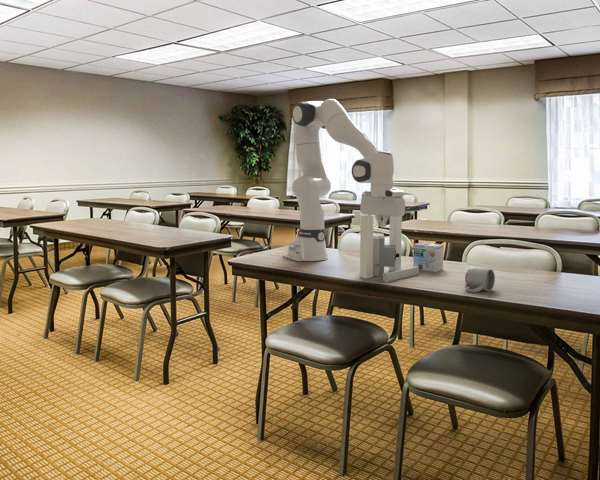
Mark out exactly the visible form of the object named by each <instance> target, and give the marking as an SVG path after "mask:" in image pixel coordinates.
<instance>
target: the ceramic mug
mask: <svg viewBox="0 0 600 480" xmlns="http://www.w3.org/2000/svg"><path fill="white" fill-rule="evenodd" d="M495 279H496V276H495V272H494V270H493V269H491V268H477V267H476V268H469V269H468V270H467V271H466V273H465V276H464V281H465V285H464V288H465V291H467V292H468V293H470V292H471V294H474V293H478V292H480V291H486V292H491V291H492V290H493V289H494V286H495V281H496V280H495ZM490 290H491V291H490Z"/></svg>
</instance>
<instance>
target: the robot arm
mask: <svg viewBox="0 0 600 480" xmlns="http://www.w3.org/2000/svg"><path fill="white" fill-rule="evenodd" d="M291 111H292V113H291V117H292V121H293V122H294V124H296V125H295V127H294V129H295V130H294V143H295V144H294V145H295V151H296V152H295V155H296V162H297V165H298V166H299V167H300V169H301V171H302V175H300V176H299V177H298V178H296V179H295V180H294V181H293V183H292V187H291V189H292V190H291V191H292V193H293V195H294V196H295V197H296V200H297V204H298V209H299V216H300V218H299V220H300V224H299V225H300V228H299V229H296V233H298V234H297V236H296V238H294V239H293V240H291V242H290V243H289V244H288V246H287V253H284V254H282V257H283V256H284V257H283V258H286V259H290V260H293V261H296V262H319V261H320V262H321V261H324V260H325V261H326V260H328V258H329V257H328V253H327V252H328V251H327V246H326V240H325V237H326V228H325V211H324V209H323V207H322V204H321V200H320V198H323V197H325V196H326V195H327V194H329V192H330V191H331V187H332V185H331V181H330V179H329V178H328V175H327V174H326V170H325V168H324V164H323V161H322V160H323V159H322V153H321V146H320V138H319V137H320V136H319V131H320V129H323V130H326V132H327V133H328V135H329V136H330V138H331V139H332V140H334V141H335V142H337V143H338V144H339V143H340V144H343V145H347V146H349V147H352V148H354V149H355V150H357V151H358V152H359V153H360V155H362V158H360V159H357V160H355V162H354V163H353V164H352V167H351V176H352V178H353V180H354V181H355V182H357V183H360V184H363V183H364V184H370V191H367V190H366V191H364V192H362V193H361V200H360V207H359V211H360V214H362V215H370V216H374V215H375V216H374V218H375V220H376V222H377V227H380V228H385V227H387V221H388V220H389V219H390V216H396V217H401V216H402V217H404V215H405V214H406V201H405V198H404V197H405V191H404V190H402V189H399V188H397V187H395V186H394V184H395V183H394V180H393V178H394V173H395V171H394V169H395V168H394V164H395V163H394V157H393V154H392V152H391V151H389V150H384V149H377V148H376V147H375V145H374V144H373V143H372V141H371V140H370V139H369V138H368V136H367V135H366V134H365V133H364V132H363V131H362V130H361V129H360V128H359V127H358V126H357V124H355V123H354V122H353V120H352V119H351V117H350V115H349V114H348V112H347V110H346V109H345V107H343V106H342V104H340V102H339V101H338V100H336V99H334V98H327V99H325V100H311V101H310V100H309V101H301V102H298V103H295V105H294V106H293V109H292V110H291ZM381 218H382V219H381Z"/></svg>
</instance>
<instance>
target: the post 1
mask: <svg viewBox="0 0 600 480" xmlns="http://www.w3.org/2000/svg"><path fill="white" fill-rule="evenodd" d="M359 220H360V225H359V226H360V229H359V230H360V231H359V233H360V236H359V237H360V240H359V246H360V247H359V248H360V249H359V252H360V253H359V263H360V264H359V278H361V279H371V278H373V277H374V276H373V236H374V215H368V214H365V215H360V219H359Z"/></svg>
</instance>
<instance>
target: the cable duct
mask: <svg viewBox="0 0 600 480" xmlns="http://www.w3.org/2000/svg"><path fill="white" fill-rule="evenodd" d="M419 271H420V270H419V267H417V266H409V267H405V268H401V269H400V270H395V271H387V272H384V273H383V276H382V282H386V283H388V282H393V281H396V280H401V279H405V278H408V277H409V278H410V277H412V276H416V275H419Z"/></svg>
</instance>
